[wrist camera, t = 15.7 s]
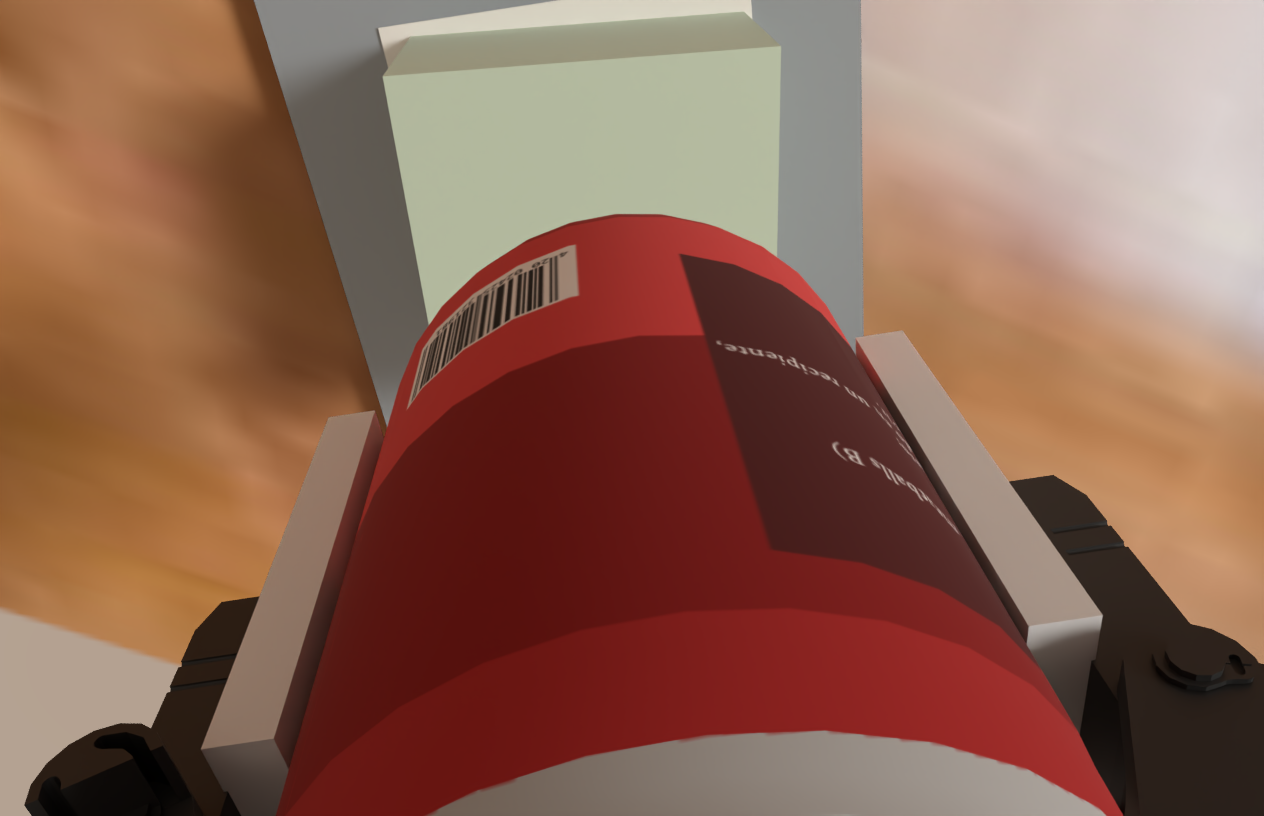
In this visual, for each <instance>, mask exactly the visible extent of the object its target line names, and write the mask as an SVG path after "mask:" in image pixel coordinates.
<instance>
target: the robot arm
mask: <svg viewBox="0 0 1264 816" xmlns="http://www.w3.org/2000/svg"><path fill="white" fill-rule="evenodd" d="M856 356H857V358H858V360H859V361H860V363H861V365H862V367H863V368H864V370H865V372H866V373H867V375H868V377H869V378H870V380H871V382H872V383H873V385H874V387H875V389H876V390H877V392H878V394H879V395H880V397H881V399H882V400H883V402H884V404H885V406H886V407H887V409H888V411H889V412H890V414H891V416H892V417H893V419H894V421H895V422H896V424H897V426H898V428H899V429H900V431H901V433H902V434H903V436H904V438H905V439H906V441H907V443H908V444H909V446H910V448H911V450H912V451H913V453H914V455H915V456H916V458H917V460H918V461H919V463H920V465H921V467H922V468H923V470H924V472H925V473H926V475H927V477H928V478H929V480H930V482H931V483H932V485H933V487H934V489H935V490H936V492H937V494H938V495H939V497H940V499H941V500H942V502H943V504H944V505H945V507H946V509H947V511H948V512H949V514H950V516H951V517H952V519H953V521H954V522H955V524H956V526H957V527H958V529H959V531H960V533H961V534H962V536H963V538H964V539H965V541H966V543H967V544H968V546H969V548H970V550H971V551H972V553H973V555H974V556H975V558H976V560H977V561H978V563H979V565H980V566H981V568H982V570H983V572H984V573H985V575H986V577H987V578H988V580H989V582H990V583H991V585H992V587H993V588H994V590H995V592H996V594H997V595H998V597H999V599H1000V600H1001V602H1002V604H1003V605H1004V607H1005V609H1006V611H1007V612H1008V614H1009V616H1010V617H1011V619H1012V621H1013V622H1014V624H1015V626H1016V627H1017V629H1018V631H1019V633H1020V634H1021V636H1022V638H1023V639H1024V641H1025V643H1026V644H1027V646H1028V648H1029V649H1030V651H1031V653H1032V655H1033V656H1034V658H1035V660H1036V661H1037V663H1038V665H1039V666H1040V668H1041V670H1042V671H1043V673H1044V675H1045V677H1046V678H1047V680H1048V682H1049V683H1050V685H1051V687H1052V688H1053V690H1054V692H1055V694H1056V695H1057V697H1058V699H1059V700H1060V702H1061V704H1062V705H1063V707H1064V709H1065V710H1066V712H1067V714H1068V716H1069V717H1070V719H1071V721H1072V722H1073V724H1074V726H1075V727H1076V729H1077V731H1078V733H1079V735H1080V737H1081V739H1082V741H1083V743H1084V745H1085V747H1086V749H1087V751H1088V753H1089V755H1090V757H1091V759H1092V761H1093V763H1094V766H1095V767H1096V769H1097V771H1098V773H1099V774H1100V776H1101V778H1102V780H1103V781H1104V783H1105V785H1106V786H1107V788H1108V790H1109V792H1110V793H1111V795H1112V797H1113V799H1114V800H1115V802H1116V804H1117V805H1118V807H1119V809H1120V811H1121V812H1122V814H1123V816H1264V664H1260V663H1258V661H1257V659H1256V658H1255V657H1254V656H1253V655H1252V654H1250V653H1249V652H1248V651H1247V650H1246V649H1245V648H1244V647H1242V646H1241V645H1240V644H1239V643H1238V642H1237V641H1235V640H1233V639H1231V638H1229V637H1227V636H1225V635H1223V634H1220V633H1218V632H1216V631H1214V630H1212V629H1209V628H1205V627H1201V626H1196V625H1192V624H1190V623H1189V622H1188V621H1187V619H1186V618H1185V617H1184V616H1183V614H1182V613H1181V612H1180V611H1179V609H1178V608H1177V607H1176V606H1175V604H1174V603H1173V602H1172V601H1171V600H1170V598H1169V597H1168V596H1167V595H1166V593H1165V592H1164V591H1163V590H1162V588H1161V587H1160V586H1159V585H1158V583H1157V582H1156V581H1155V580H1154V578H1153V577H1152V576H1151V575H1150V573H1149V572H1148V571H1147V570H1146V569H1145V567H1144V566H1143V565H1142V564H1141V562H1140V561H1139V560H1138V559H1137V557H1136V556H1135V555H1134V554H1133V552H1132V551H1131V550H1130V549H1129V547H1125V546H1124V541H1123V540H1122V539H1121V538H1120V536H1119V535H1118V534H1117V533H1116V531H1115V530H1114V529H1113V528H1112V526H1108V525H1107V520H1106V519H1105V518H1104V516H1103V515H1102V514H1101V513H1100V511H1099V510H1098V509H1097V508H1096V507H1095V505H1094V504H1093V503H1092V502H1091V500H1090V499H1089V498H1088V497H1087V495H1085V494H1084V493H1082V492H1080V491H1079V490H1077V489H1075V488H1074V487H1072V486H1070V485H1069V484H1067V483H1065V482H1064V481H1062V480H1061V479H1059V478H1057V477H1056V476H1054V475H1050V476H1044V477H1037V478H1030V479H1024V480H1017V481H1010V482H1009V481H1008V480H1007V478H1006V477H1005V476H1004V474H1003V473H1002V471H1001V470H1000V469H999V467H998V466H997V464H996V463H995V461H994V460H993V459H992V457H991V456H990V454H989V453H988V451H987V450H986V449H985V447H984V446H983V444H982V443H981V442H980V440H979V439H978V437H977V436H976V434H975V433H974V432H973V430H972V429H971V427H970V426H969V424H968V423H967V422H966V420H965V419H964V417H963V416H962V415H961V413H960V412H959V410H958V409H957V407H956V406H955V405H954V403H953V402H952V400H951V399H950V397H949V396H948V395H947V393H946V392H945V390H944V389H943V388H942V386H941V385H940V383H939V382H938V380H937V379H936V378H935V376H934V375H933V373H932V372H931V370H930V369H929V368H928V366H927V365H926V363H925V362H924V361H923V359H922V358H921V356H920V355H919V353H918V352H917V351H916V349H915V348H914V346H913V345H912V343H911V342H910V341H909V339H908V338H907V336H906V335H905V334H904V332H903V331H896V332H889V333H883V334H876V335H870V336H863V337H856ZM383 440H384V437H383V434H382V431H381V428H380V424H379V421H378V418H377V415H376V412H375V410H374V411H367V412H361V413H354V414H347V415H341V416H334V417H328V420H327V423H326V425H325V428H324V430H323V433H322V436H321V438H320V441H319V443H318V446H317V449H316V451H315V454H314V456H313V459H312V462H311V464H310V467H309V469H308V472H307V475H306V477H305V480H304V482H303V485H302V488H301V490H300V493H299V495H298V498H297V501H296V503H295V506H294V508H293V511H292V514H291V516H290V519H289V521H288V524H287V527H286V529H285V532H284V534H283V537H282V540H281V542H280V545H279V547H278V550H277V553H276V555H275V558H274V560H273V563H272V566H271V568H270V571H269V573H268V576H267V579H266V581H265V584H264V586H263V589H262V592H261V594H260V596H259V597H253V598H246V599H239V600H232V601H226V602H221V603H220V604H219V606H218V607H217V608H216V609H215V610H214V611H213V612H212V613H211V614H210V615H209V616H208V617H207V618H206V620H205V621H204V622H203V623H202V624H201V625H200V626H199V627H198V628H197V629H196V630H195V632H194V634H193V636H192V639H191V641H190V643H189V645H188V647H187V650H186V652H185V654H184V656H183V659H182V661H181V662H182V667H178V670H177V672H176V674H175V676H174V679H173V681H172V683H171V685H170V688H171V691H170V692H168V693H167V694H166V697H165V699H164V701H163V703H162V705H161V708H160V710H159V712H158V714H157V717H156V719H155V721H154V723H153V725H152V728H149V727H147V726H145V725H143V724H125V723H124V724H122V723H120V724H116V725H113V726H109V727H106V728H103V729H99V730H96V731H93V732H92V733H90V734H88V735H86V736H84V737H82V738H81V739H79V740H77V741H75V742H73V743H71V744H69V745H68V746H67V747H66V748H65V749H64V750H62V751H61V752H60V753H59V754H57V755H56V756H55V757H54V758H53V759H52V760H50V761H49V762H48V763H47V764H46V765H45V767H44V768H43V769H42V771H41V772H40V773H39V775H38V776H37V777H36V779H35V780H34V781H33V783H32V784H31V786H30V789H29V793H28V795H27V799H26V802H25V807H26V808H27V810H28V811H29V812H30V814H31V815H32V816H276V813H277V809H278V806H279V802H280V799H281V795H282V792H283V788H284V785H285V781H286V778H287V774H288V771H289V767H290V764H291V761H292V757H293V754H294V750H295V747H296V743H297V740H298V736H299V733H300V729H301V726H302V722H303V719H304V715H305V712H306V708H307V705H308V701H309V698H310V694H311V691H312V687H313V684H314V680H315V677H316V673H317V670H318V667H319V663H320V660H321V656H322V653H323V649H324V646H325V642H326V639H327V635H328V632H329V628H330V625H331V621H332V618H333V614H334V611H335V607H336V604H337V600H338V597H339V593H340V590H341V586H342V583H343V579H344V576H345V573H346V569H347V566H348V562H349V559H350V555H351V552H352V548H353V545H354V541H355V538H356V534H357V531H358V527H359V524H360V520H361V517H362V513H363V510H364V506H365V503H366V499H367V496H368V492H369V489H370V486H371V482H372V479H373V475H374V472H375V468H376V465H377V461H378V458H379V454H380V451H381V447H382V444H383Z"/></svg>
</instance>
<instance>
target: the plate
mask: <svg viewBox="0 0 1264 816" xmlns="http://www.w3.org/2000/svg"><path fill="white" fill-rule="evenodd" d="M254 2H255V5H256V9H257V12H258V15H259V18H260V21H261V25H262V28H263V31H264V34H265V37H266V41H267V44H268V47H269V50H270V54H271V57H272V60H273V63H274V66H275V70H276V73H277V76H278V79H279V82H280V86H281V89H282V92H283V95H284V98H285V102H286V105H287V108H288V111H289V114H290V118H291V121H292V124H293V127H294V130H295V134H296V137H297V140H298V143H299V146H300V150H301V153H302V156H303V159H304V162H305V166H306V169H307V172H308V175H309V178H310V182H311V185H312V188H313V191H314V194H315V198H316V201H317V204H318V207H319V210H320V214H321V217H322V220H323V223H324V227H325V230H326V233H327V236H328V239H329V243H330V246H331V249H332V252H333V255H334V259H335V262H336V265H337V268H338V271H339V275H340V278H341V281H342V284H343V287H344V291H345V294H346V297H347V300H348V303H349V307H350V310H351V313H352V316H353V319H354V323H355V326H356V329H357V332H358V335H359V339H360V342H361V345H362V348H363V351H364V355H365V358H366V361H367V364H368V367H369V371H370V374H371V377H372V380H373V384H374V387H375V390H376V393H377V396H378V400H379V403H380V406H381V409H382V412H383V416H384V419H385V422H386V425H387V426H388V423H389V419H390V416H391V412H392V409H393V405H394V402H395V398H396V395H397V392H398V388H399V385H400V382H401V380H402V377H403V375H404V372H405V370H406V367H407V365H408V362H409V360H410V358H411V355H412V353H413V350H414V348H415V345H416V343H417V342H418V340H419V339H420V337H421V336H422V335H423V333H424V332H425V330H426V329H427V327H428V326H429V324H428V318H427V313H426V308H425V302H424V297H423V291H422V286H421V281H420V275H419V270H418V264H417V259H416V254H415V248H414V243H413V238H412V232H411V227H410V221H409V216H408V211H407V205H406V200H405V194H404V189H403V184H402V178H401V173H400V167H399V162H398V157H397V151H396V146H395V141H394V135H393V130H392V124H391V119H390V114H389V108H388V103H387V97H386V92H385V87H384V81H383V75H384V74H385V72H386V71H387V69H388V68H389V67H390V65H391V64H392V62H393V61H394V60H395V58H396V57H397V55H398V54H399V52H400V51H401V50H402V48H403V47H404V45H405V44H406V43H407V41H408V40H409V38H410V37H411V36H423V35H436V34H450V33H463V32H476V31H490V30H503V29H516V28H530V27H543V26H557V25H570V24H583V23H597V22H610V21H623V20H637V19H650V18H663V17H677V16H690V15H704V14H717V13H730V12H745V13H746V14H747V15H748V16H749V17H750V18H751V19H752V20H753V21H755V22H756V23H757V24H758V25H759V26H760V27H761V28H762V29H763V30H764V31H765V32H766V33H768V34H769V35H770V36H771V37H772V38H773V39H774V40H775V41H776V42H777V43H778V44H779V45H780V46H781V80H780V131H779V183H778V234H777V258H779V259H780V260H781V261H783V262H784V263H786V264H787V265H788V266H790V267H791V268H792V269H794V270H795V271H797V272H798V273H799V274H800V275H801V276H802V278H803V279H804V280H805V281H806V282H807V283H808V285H809V286H810V287H811V288H812V289H813V290H814V292H815V293H816V294H817V295H818V296H819V297H820V298H821V300H822V301H823V302H824V303H825V304H826V306H827V307H828V309H829V311H830V312H831V314H832V316H833V317H834V319H835V321H836V322H837V324H838V326H839V328H840V329H841V331H842V333H843V334H844V336H845V338H846V339H847V341H848V343H849V345H850V346H851V348H852V350H853V351H854V353H855V355H856V337H863V336H864V335H863V212H862V89H861V0H254Z"/></svg>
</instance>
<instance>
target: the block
mask: <svg viewBox="0 0 1264 816" xmlns="http://www.w3.org/2000/svg"><path fill="white" fill-rule="evenodd" d="M780 80H781V46H780V45H779V44H778V43H777V42H776V41H775V40H774V39H773V38H772V37H771V36H770V35H769V34H768V33H766V32H765V31H764V30H763V29H762V28H761V27H760V26H759V25H758V24H757V23H756V22H755V21H753V20H752V19H751V18H750V17H749V16H748V15H747V14H746V13H745V12H730V13H717V14H704V15H690V16H677V17H663V18H650V19H637V20H623V21H610V22H597V23H583V24H570V25H557V26H543V27H530V28H516V29H503V30H490V31H476V32H463V33H450V34H436V35H423V36H411V37H410V38H409V40H408V41H407V43H406V44H405V45H404V47H403V48H402V50H401V51H400V52H399V54H398V55H397V57H396V58H395V60H394V61H393V62H392V64H391V65H390V67H389V68H388V69H387V71H386V72H385V74H384V75H383V81H384V87H385V92H386V97H387V103H388V108H389V114H390V119H391V124H392V130H393V135H394V141H395V146H396V151H397V157H398V162H399V167H400V173H401V178H402V184H403V189H404V194H405V200H406V205H407V211H408V216H409V221H410V227H411V232H412V238H413V243H414V248H415V254H416V259H417V264H418V270H419V275H420V281H421V286H422V291H423V297H424V302H425V308H426V313H427V318H428V324H430V323H431V321H432V320H433V319H434V317H435V316H436V314H437V313H438V311H439V310H440V308H441V307H442V306H443V305H444V304H445V303H446V302H447V301H448V300H449V299H450V298H451V297H452V296H453V295H454V294H455V293H456V292H457V291H458V290H459V289H460V288H461V287H462V286H464V285H465V284H466V283H467V282H468V281H469V280H470V279H471V278H472V277H473V276H474V275H475V274H476V273H477V272H479V271H480V270H481V269H483V268H484V267H486V266H487V265H489V264H490V263H492V262H493V261H495V260H496V259H498V258H499V257H501V256H503V255H504V254H506V253H507V252H509V251H510V250H512V249H514V248H515V247H517V246H518V245H520V244H521V243H523V242H525V241H526V240H528V239H530V238H533V237H535V236H538V235H540V234H543V233H545V232H548V231H550V230H553V229H555V228H558V227H561V226H563V225H566V224H568V223H571V222H576V221H581V220H587V219H592V218H597V217H602V216H608V215H613V214H663V215H668V216H673V217H678V218H682V219H687V220H692V221H697V222H702V223H706V224H709V225H713V226H716V227H719V228H721V229H723V230H726V231H728V232H730V233H733V234H735V235H737V236H740V237H742V238H744V239H746V240H749V241H751V242H753V243H756V244H758V245H760V246H762V247H764V248H765V249H766V250H768V251H769V252H770V253H772V254H773V255H775V256H776V257H777V234H778V183H779V131H780Z"/></svg>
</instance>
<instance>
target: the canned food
mask: <svg viewBox="0 0 1264 816" xmlns="http://www.w3.org/2000/svg"><path fill="white" fill-rule="evenodd" d="M276 816H1123V814H1122V812H1121V811H1120V809H1119V807H1118V805H1117V804H1116V802H1115V800H1114V799H1113V797H1112V795H1111V793H1110V792H1109V790H1108V788H1107V786H1106V785H1105V783H1104V781H1103V780H1102V778H1101V776H1100V774H1099V773H1098V771H1097V769H1096V767H1095V766H1094V763H1093V761H1092V759H1091V757H1090V755H1089V753H1088V751H1087V749H1086V747H1085V745H1084V743H1083V741H1082V739H1081V737H1080V735H1079V733H1078V731H1077V729H1076V727H1075V726H1074V724H1073V722H1072V721H1071V719H1070V717H1069V716H1068V714H1067V712H1066V710H1065V709H1064V707H1063V705H1062V704H1061V702H1060V700H1059V699H1058V697H1057V695H1056V694H1055V692H1054V690H1053V688H1052V687H1051V685H1050V683H1049V682H1048V680H1047V678H1046V677H1045V675H1044V673H1043V671H1042V670H1041V668H1040V666H1039V665H1038V663H1037V661H1036V660H1035V658H1034V656H1033V655H1032V653H1031V651H1030V649H1029V648H1028V646H1027V644H1026V643H1025V641H1024V639H1023V638H1022V636H1021V634H1020V633H1019V631H1018V629H1017V627H1016V626H1015V624H1014V622H1013V621H1012V619H1011V617H1010V616H1009V614H1008V612H1007V611H1006V609H1005V607H1004V605H1003V604H1002V602H1001V600H1000V599H999V597H998V595H997V594H996V592H995V590H994V588H993V587H992V585H991V583H990V582H989V580H988V578H987V577H986V575H985V573H984V572H983V570H982V568H981V566H980V565H979V563H978V561H977V560H976V558H975V556H974V555H973V553H972V551H971V550H970V548H969V546H968V544H967V543H966V541H965V539H964V538H963V536H962V534H961V533H960V531H959V529H958V527H957V526H956V524H955V522H954V521H953V519H952V517H951V516H950V514H949V512H948V511H947V509H946V507H945V505H944V504H943V502H942V500H941V499H940V497H939V495H938V494H937V492H936V490H935V489H934V487H933V485H932V483H931V482H930V480H929V478H928V477H927V475H926V473H925V472H924V470H923V468H922V467H921V465H920V463H919V461H918V460H917V458H916V456H915V455H914V453H913V451H912V450H911V448H910V446H909V444H908V443H907V441H906V439H905V438H904V436H903V434H902V433H901V431H900V429H899V428H898V426H897V424H896V422H895V421H894V419H893V417H892V416H891V414H890V412H889V411H888V409H887V407H886V406H885V404H884V402H883V400H882V399H881V397H880V395H879V394H878V392H877V390H876V389H875V387H874V385H873V383H872V382H871V380H870V378H869V377H868V375H867V373H866V372H865V370H864V368H863V367H862V365H861V363H860V361H859V360H858V358H857V356H856V355H855V353H854V351H853V350H852V348H851V346H850V345H849V343H848V341H847V339H846V338H845V336H844V334H843V333H842V331H841V329H840V328H839V326H838V324H837V322H836V321H835V319H834V317H833V316H832V314H831V312H830V311H829V309H828V307H827V306H826V304H825V303H824V302H823V301H822V300H821V298H820V297H819V296H818V295H817V294H816V293H815V292H814V290H813V289H812V288H811V287H810V286H809V285H808V283H807V282H806V281H805V280H804V279H803V278H802V276H801V275H800V274H799V273H798V272H797V271H795V270H794V269H792V268H791V267H790V266H788V265H787V264H786V263H784V262H783V261H781V260H780V259H779V258H777V257H776V256H775V255H773V254H772V253H770V252H769V251H768V250H766V249H765V248H764V247H762V246H760V245H758V244H756V243H753V242H751V241H749V240H746V239H744V238H742V237H740V236H737V235H735V234H733V233H730V232H728V231H726V230H723V229H721V228H719V227H716V226H713V225H709V224H706V223H702V222H697V221H692V220H687V219H682V218H678V217H673V216H668V215H663V214H613V215H608V216H602V217H597V218H592V219H587V220H581V221H576V222H571V223H568V224H566V225H563V226H561V227H558V228H555V229H553V230H550V231H548V232H545V233H543V234H540V235H538V236H535V237H533V238H530V239H528V240H526V241H525V242H523V243H521V244H520V245H518V246H517V247H515V248H514V249H512V250H510V251H509V252H507V253H506V254H504V255H503V256H501V257H499V258H498V259H496V260H495V261H493V262H492V263H490V264H489V265H487V266H486V267H484V268H483V269H481V270H480V271H479V272H477V273H476V274H475V275H474V276H473V277H472V278H471V279H470V280H469V281H468V282H467V283H466V284H465V285H464V286H462V287H461V288H460V289H459V290H458V291H457V292H456V293H455V294H454V295H453V296H452V297H451V298H450V299H449V300H448V301H447V302H446V303H445V304H444V305H443V306H442V307H441V308H440V310H439V311H438V313H437V314H436V316H435V317H434V319H433V320H432V321H431V323H430V324H429V326H428V327H427V329H426V330H425V332H424V333H423V335H422V336H421V337H420V339H419V340H418V342H417V343H416V345H415V348H414V350H413V353H412V355H411V358H410V360H409V362H408V365H407V367H406V370H405V372H404V375H403V377H402V380H401V382H400V385H399V388H398V392H397V395H396V398H395V402H394V405H393V409H392V412H391V416H390V419H389V423H388V426H387V430H386V433H385V437H384V440H383V444H382V447H381V451H380V454H379V458H378V461H377V465H376V468H375V472H374V475H373V479H372V482H371V486H370V489H369V492H368V496H367V499H366V503H365V506H364V510H363V513H362V517H361V520H360V524H359V527H358V531H357V534H356V538H355V541H354V545H353V548H352V552H351V555H350V559H349V562H348V566H347V569H346V573H345V576H344V579H343V583H342V586H341V590H340V593H339V597H338V600H337V604H336V607H335V611H334V614H333V618H332V621H331V625H330V628H329V632H328V635H327V639H326V642H325V646H324V649H323V653H322V656H321V660H320V663H319V667H318V670H317V673H316V677H315V680H314V684H313V687H312V691H311V694H310V698H309V701H308V705H307V708H306V712H305V715H304V719H303V722H302V726H301V729H300V733H299V736H298V740H297V743H296V747H295V750H294V754H293V757H292V761H291V764H290V767H289V771H288V774H287V778H286V781H285V785H284V788H283V792H282V795H281V799H280V802H279V806H278V809H277V813H276Z"/></svg>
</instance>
